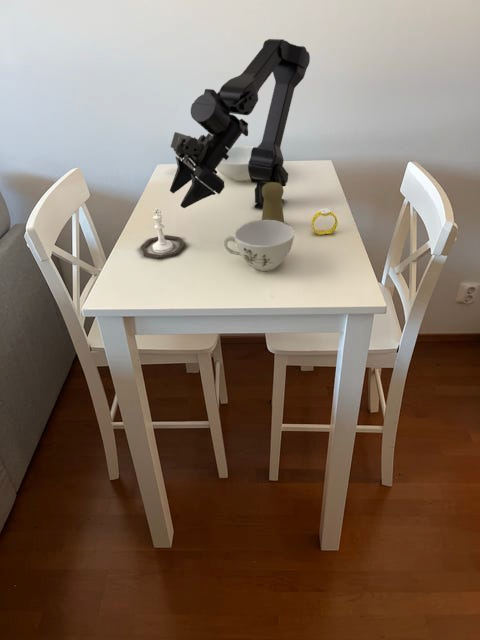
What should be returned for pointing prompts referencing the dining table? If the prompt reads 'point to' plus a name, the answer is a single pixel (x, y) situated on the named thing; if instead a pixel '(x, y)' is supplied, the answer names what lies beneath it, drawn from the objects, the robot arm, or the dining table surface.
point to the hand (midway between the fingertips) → (176, 199)
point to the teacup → (262, 243)
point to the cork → (272, 202)
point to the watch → (324, 213)
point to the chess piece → (160, 236)
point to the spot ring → (162, 254)
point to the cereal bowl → (236, 163)
